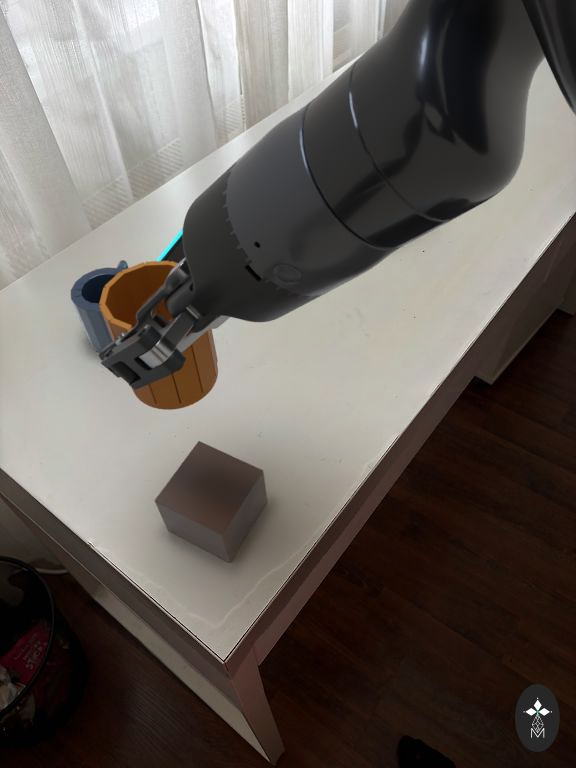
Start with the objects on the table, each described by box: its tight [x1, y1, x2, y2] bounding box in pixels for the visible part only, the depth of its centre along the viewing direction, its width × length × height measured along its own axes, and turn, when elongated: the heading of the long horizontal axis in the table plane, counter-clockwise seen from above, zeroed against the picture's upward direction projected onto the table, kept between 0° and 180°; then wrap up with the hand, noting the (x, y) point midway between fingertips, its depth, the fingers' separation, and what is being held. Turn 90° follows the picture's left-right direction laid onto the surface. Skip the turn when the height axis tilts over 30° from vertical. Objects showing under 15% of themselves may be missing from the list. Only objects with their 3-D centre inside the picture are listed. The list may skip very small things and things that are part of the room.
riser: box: [154, 440, 268, 564], centre depth 55 cm, size 7×7×6 cm
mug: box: [70, 259, 129, 354], centre depth 71 cm, size 10×7×8 cm
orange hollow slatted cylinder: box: [99, 260, 219, 411], centre depth 40 cm, size 6×6×8 cm
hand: (142, 327), depth 40 cm, fingers closed on orange hollow slatted cylinder, 6 cm apart
